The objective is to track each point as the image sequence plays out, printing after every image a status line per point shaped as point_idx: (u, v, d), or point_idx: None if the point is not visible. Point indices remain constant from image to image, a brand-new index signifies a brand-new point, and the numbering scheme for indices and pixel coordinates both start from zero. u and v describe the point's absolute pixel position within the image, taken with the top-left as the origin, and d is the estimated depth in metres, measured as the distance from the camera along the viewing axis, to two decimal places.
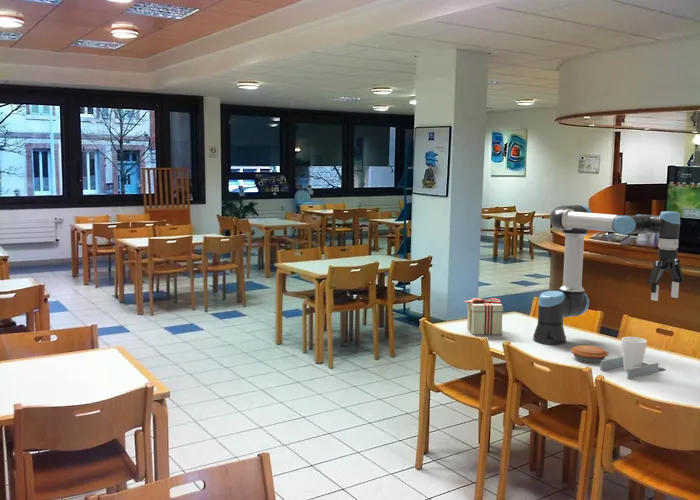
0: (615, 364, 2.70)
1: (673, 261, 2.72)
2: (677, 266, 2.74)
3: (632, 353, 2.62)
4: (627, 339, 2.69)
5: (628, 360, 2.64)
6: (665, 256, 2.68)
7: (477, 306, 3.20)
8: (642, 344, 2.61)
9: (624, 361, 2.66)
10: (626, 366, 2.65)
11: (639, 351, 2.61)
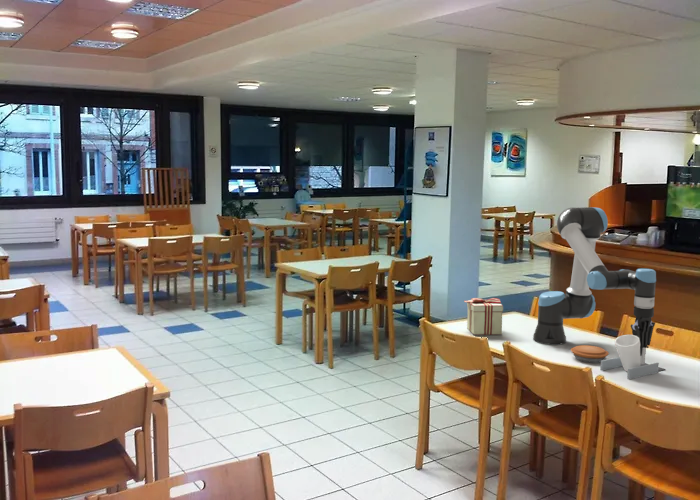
0: (615, 364, 2.70)
1: (649, 319, 2.67)
2: (650, 328, 2.68)
3: (628, 356, 2.61)
4: (620, 339, 2.67)
5: (625, 362, 2.63)
6: (641, 315, 2.63)
7: (477, 306, 3.20)
8: (635, 345, 2.59)
9: (622, 362, 2.65)
10: (625, 367, 2.65)
11: (634, 352, 2.60)
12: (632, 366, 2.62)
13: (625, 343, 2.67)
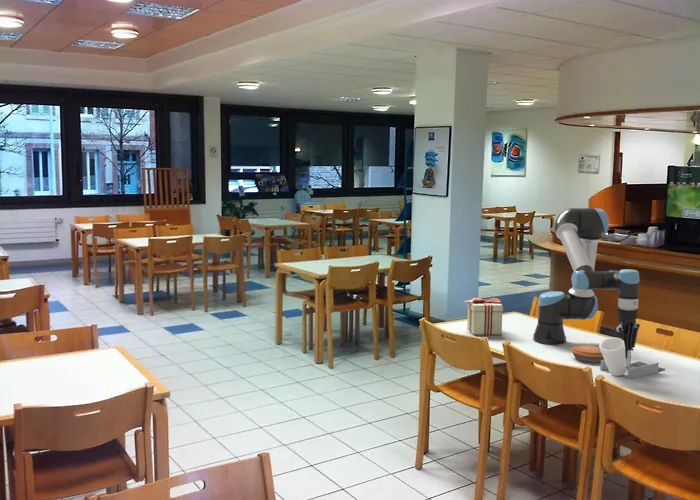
0: None
1: (634, 321, 2.62)
2: (635, 330, 2.63)
3: (613, 360, 2.55)
4: (605, 342, 2.61)
5: (611, 366, 2.57)
6: (625, 317, 2.58)
7: (477, 306, 3.20)
8: (620, 349, 2.53)
9: (607, 366, 2.60)
10: (611, 370, 2.59)
11: (620, 356, 2.54)
12: (618, 370, 2.57)
13: (610, 346, 2.61)
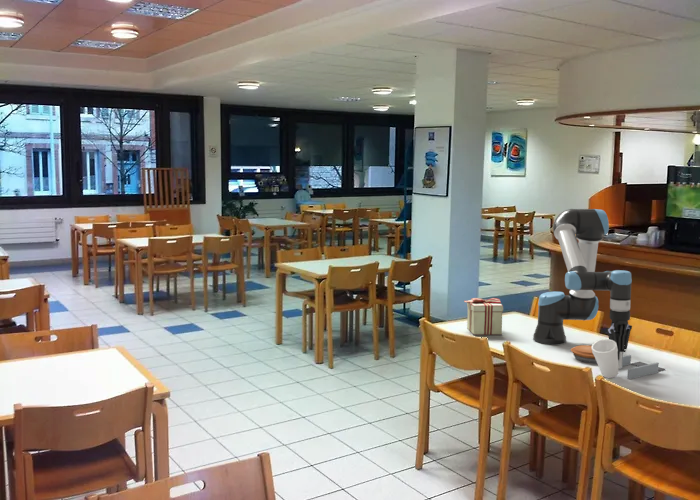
0: None
1: (626, 322, 2.59)
2: (627, 331, 2.61)
3: (605, 362, 2.52)
4: (597, 344, 2.58)
5: (603, 368, 2.55)
6: (617, 318, 2.56)
7: (477, 306, 3.20)
8: (613, 351, 2.50)
9: (600, 368, 2.57)
10: (603, 372, 2.57)
11: (612, 358, 2.51)
12: (610, 372, 2.55)
13: (602, 348, 2.59)
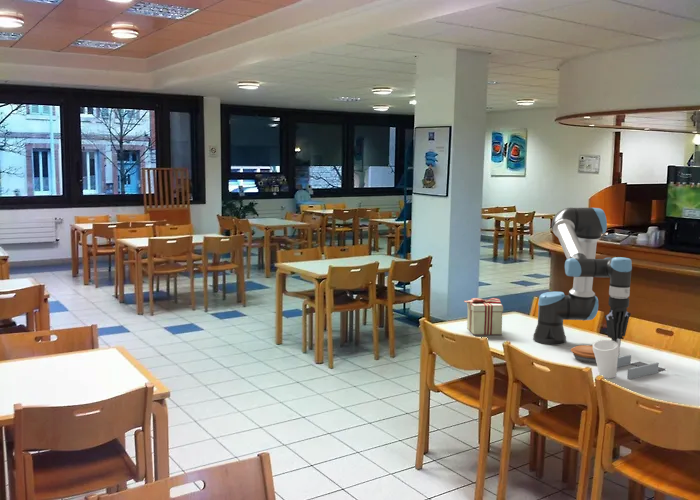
0: None
1: (625, 309, 2.59)
2: (626, 318, 2.60)
3: (606, 360, 2.53)
4: (597, 343, 2.59)
5: (603, 367, 2.55)
6: (615, 305, 2.55)
7: (477, 306, 3.20)
8: (614, 350, 2.51)
9: (599, 368, 2.57)
10: (602, 372, 2.57)
11: (613, 357, 2.52)
12: (609, 372, 2.55)
13: (602, 348, 2.60)
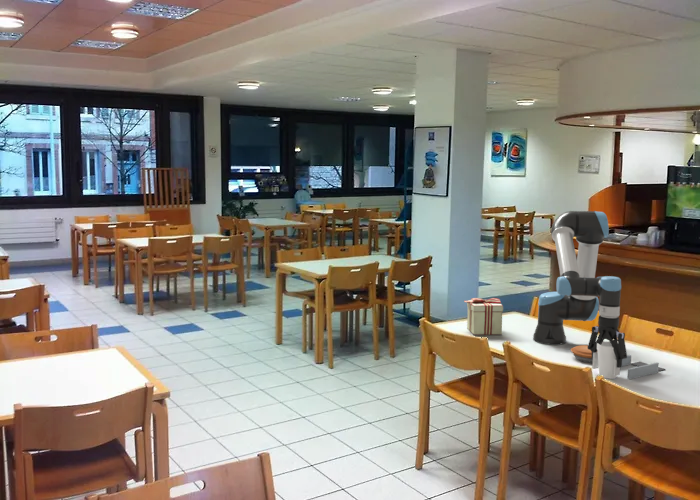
0: None
1: (612, 331, 2.53)
2: None
3: (609, 358, 2.54)
4: (602, 344, 2.61)
5: (604, 366, 2.56)
6: None
7: (477, 306, 3.20)
8: None
9: (600, 367, 2.58)
10: (602, 372, 2.57)
11: None
12: (610, 371, 2.55)
13: None
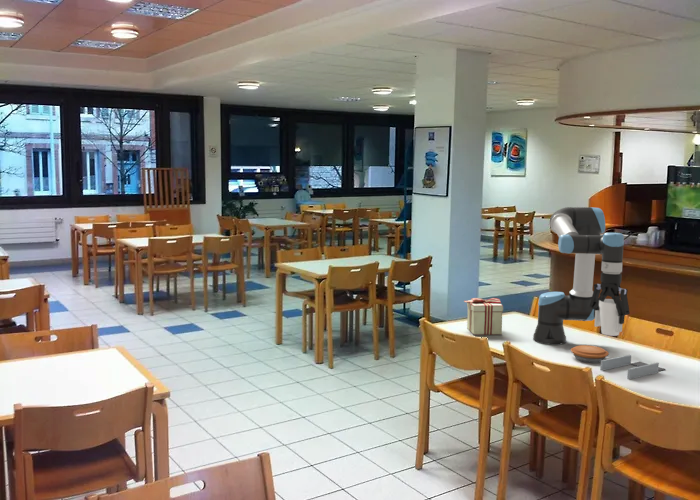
0: (615, 364, 2.70)
1: (614, 287, 2.51)
2: None
3: (611, 315, 2.52)
4: (604, 301, 2.59)
5: (607, 323, 2.54)
6: None
7: (477, 306, 3.20)
8: None
9: (602, 324, 2.56)
10: (604, 329, 2.55)
11: None
12: (612, 328, 2.53)
13: None
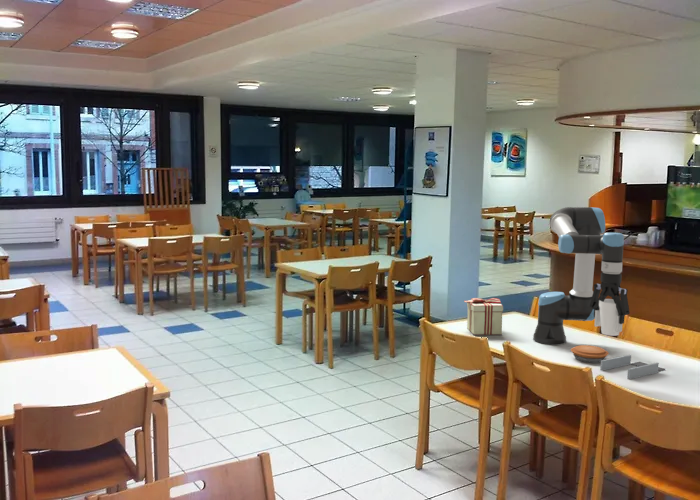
0: (615, 364, 2.70)
1: (614, 287, 2.51)
2: None
3: (611, 315, 2.52)
4: (604, 301, 2.59)
5: (607, 322, 2.54)
6: None
7: (477, 306, 3.20)
8: None
9: (602, 324, 2.56)
10: (604, 329, 2.55)
11: None
12: (612, 328, 2.53)
13: None
